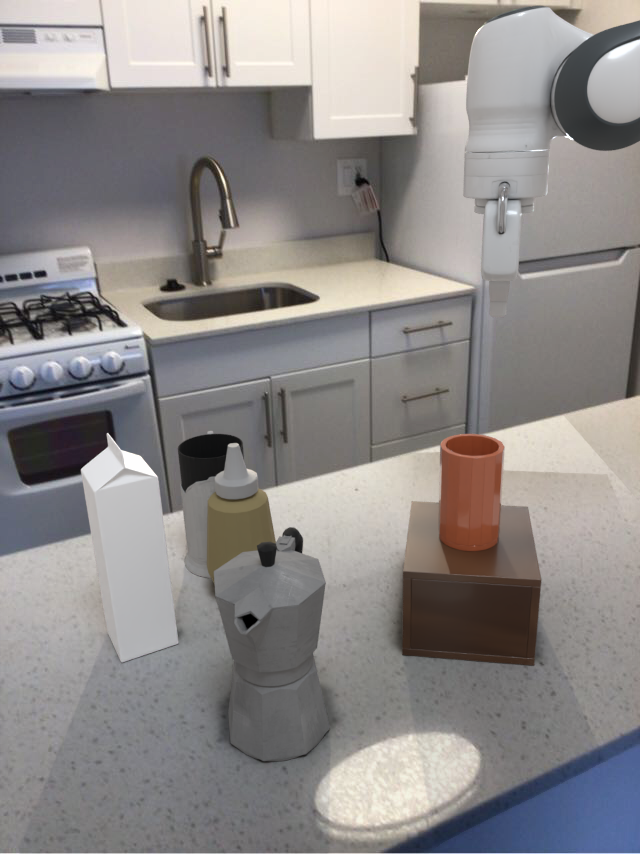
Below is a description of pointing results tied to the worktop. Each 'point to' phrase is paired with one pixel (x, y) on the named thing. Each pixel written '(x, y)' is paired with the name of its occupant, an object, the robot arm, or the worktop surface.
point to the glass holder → (200, 490)
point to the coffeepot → (273, 648)
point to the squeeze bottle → (236, 513)
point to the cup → (470, 491)
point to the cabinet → (471, 592)
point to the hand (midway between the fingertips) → (499, 306)
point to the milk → (130, 552)
